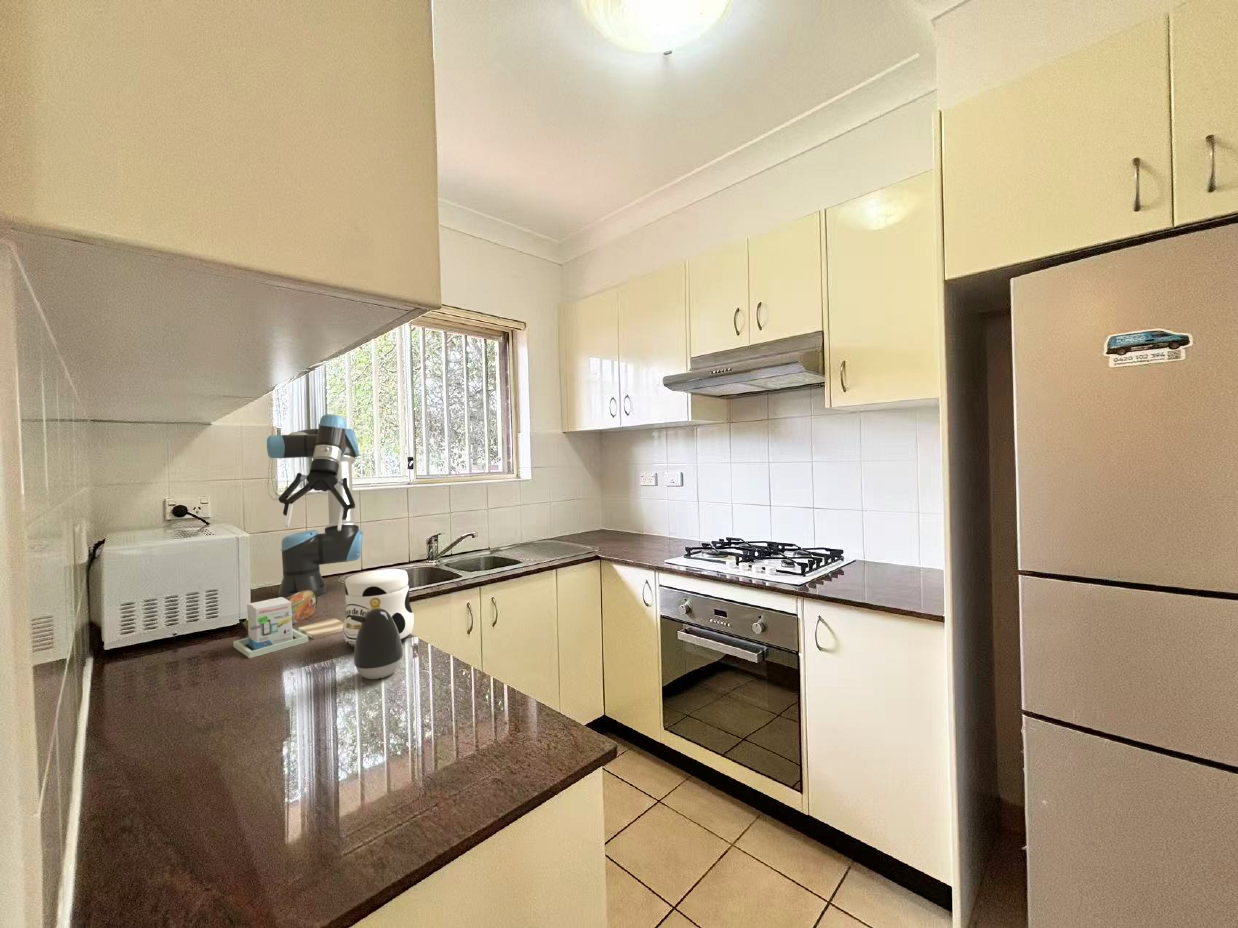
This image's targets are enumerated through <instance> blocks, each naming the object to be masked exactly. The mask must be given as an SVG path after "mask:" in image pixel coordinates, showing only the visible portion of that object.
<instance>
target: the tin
mask: <svg viewBox="0 0 1238 928" xmlns="http://www.w3.org/2000/svg"><path fill="white" fill-rule="evenodd" d="M285 599H287V600H289V601H290V602H291V611H292V625H295V624H298V623H300V622H302V621H304V620H305V619H307V618H309V617H311V616H313V615H314V614H315V612H316V610H317V607H318V596H316V594H315V592H314V591H313V590H304V591H300V592H298V593H296V594H294V595H292V596H289V597H287V598H285Z"/></svg>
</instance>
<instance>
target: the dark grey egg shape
mask: <svg viewBox="0 0 1238 928" xmlns="http://www.w3.org/2000/svg"><path fill="white" fill-rule="evenodd" d="M351 620H354V621H357V622H360V623H361V626H360V628H359V631H358V634H357V638H356V643H355V648H354V649H353V650H354V651H353V665H354V666H355V667H356V668H355V669H356V671H357V672H358V674H359V675H360V676H361V677H363V678H364V679H367V680H379V678H381V679H383V678H387V677H389V676H391V675H392V674H393V673H394V672H396V671H397V670H398V668H399V666H400V664H401V661H402V658H403V656H404V651H403V650H404V649H403V644H402V641H401V638H400V635H399V632H398V629H397V626H396V624H395V622H394V620H393V619H392V617H391V615H390V614H389V613H388V612H387V611H386V610H384V609H381V608H376V609H373V610H371V611H369V612H368V613H367V614H366V616H365V617H363V616H357V615H352V616H351Z"/></svg>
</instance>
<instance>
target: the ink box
mask: <svg viewBox="0 0 1238 928" xmlns="http://www.w3.org/2000/svg"><path fill="white" fill-rule="evenodd" d="M246 610H247V612H246V613H247V626H248V638H249V644H248V645H249V647H250V648H251V650H252V651H253V650H257V649H260V648H264V647H268V646H271V645H275V644H279V643H282V642H286V641H290V640H293V639H294V638H293V637H294V636H293V634H292V628H293V624H292V611H291V602H290V601H289V600H287V599H285V598H283V597H279V598H278V597H274V598H269V599H265V600H260V601H256V602H250V603H247V604H246Z"/></svg>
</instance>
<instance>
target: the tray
mask: <svg viewBox="0 0 1238 928" xmlns="http://www.w3.org/2000/svg"><path fill="white" fill-rule="evenodd" d="M292 634H293V637H294V638H293V640H290V641H286V642H282V643H279V644H275V645H271V646H268V647H264V648H260V649H257V650H253V649H250V648H249V647H247V646H246V645H249V637H246V638H242V639H238V640H233V648H234V649H236V650H237V651H238V652H240V653H241V654H243V655H244V656H246V657H247V658H248V659H252V658H256V657H258V656H262V655H266V654H270V653H274V652H277V651H280V650H284V649H286V648H291V647H295V646H298V645H302V644H305V643H309V636H307V635H305V634H303V633H301V632H299V631H298V629H295V628H293V627H292Z"/></svg>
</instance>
